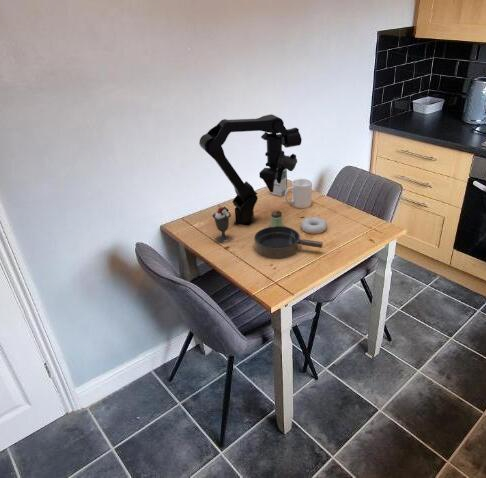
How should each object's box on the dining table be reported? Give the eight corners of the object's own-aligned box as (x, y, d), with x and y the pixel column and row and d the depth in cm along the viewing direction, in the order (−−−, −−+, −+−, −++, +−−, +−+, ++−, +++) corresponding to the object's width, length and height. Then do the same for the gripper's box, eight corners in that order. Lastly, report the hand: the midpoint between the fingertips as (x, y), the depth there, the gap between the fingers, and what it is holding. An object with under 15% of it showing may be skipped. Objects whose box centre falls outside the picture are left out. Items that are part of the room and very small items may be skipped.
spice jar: (269, 230, 166) (268, 214, 162) (273, 224, 169) (272, 209, 166) (280, 231, 164) (280, 216, 161) (284, 226, 168) (284, 210, 165)
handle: (297, 245, 150) (297, 240, 149) (299, 242, 151) (299, 237, 150) (321, 249, 147) (321, 244, 146) (322, 246, 149) (322, 241, 148)
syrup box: (281, 196, 193) (280, 165, 185) (270, 193, 195) (268, 163, 188) (287, 191, 197) (287, 161, 190) (276, 189, 199) (275, 159, 192)
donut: (298, 234, 162) (325, 236, 160) (298, 226, 160) (325, 228, 159) (303, 222, 171) (328, 224, 169) (303, 214, 169) (328, 216, 167)
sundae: (218, 245, 156) (214, 208, 149) (212, 237, 161) (208, 201, 154) (235, 241, 159) (232, 204, 151) (228, 233, 164) (225, 197, 156)
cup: (314, 206, 183) (315, 184, 178) (289, 211, 179) (288, 189, 174) (306, 199, 190) (306, 177, 185) (281, 204, 186) (280, 182, 181)
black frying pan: (248, 255, 150) (247, 244, 147) (264, 234, 163) (263, 223, 161) (292, 263, 145) (292, 251, 143) (305, 240, 158) (305, 229, 156)
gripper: (287, 159, 153) (287, 199, 161) (301, 143, 169) (301, 181, 176) (258, 156, 156) (259, 196, 164) (274, 141, 172) (275, 178, 180)
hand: (275, 187), depth 171 cm, fingers open, 9 cm apart
